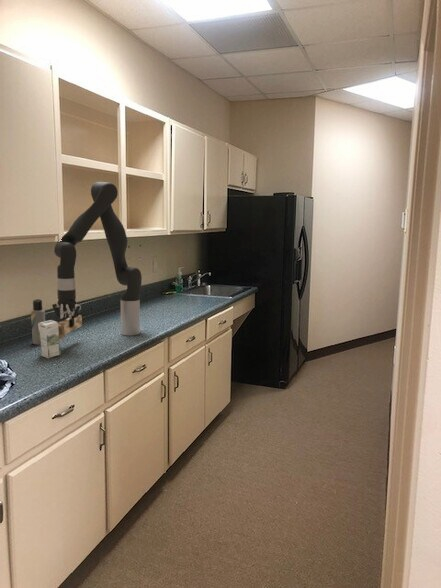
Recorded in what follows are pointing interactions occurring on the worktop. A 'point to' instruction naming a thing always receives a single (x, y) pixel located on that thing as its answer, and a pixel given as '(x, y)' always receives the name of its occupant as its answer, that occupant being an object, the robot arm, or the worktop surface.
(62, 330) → the tan wooden block
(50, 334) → the syrup box
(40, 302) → the lotion bottle
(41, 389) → the worktop surface
